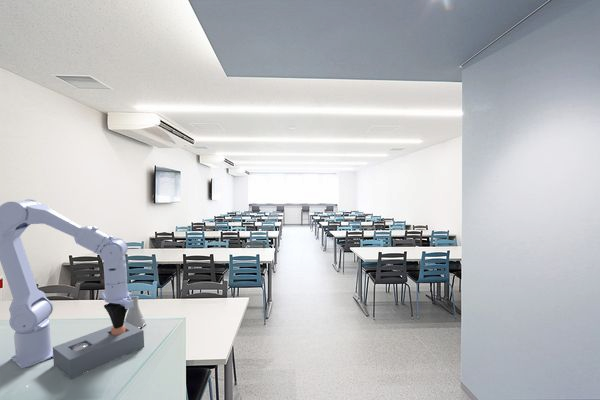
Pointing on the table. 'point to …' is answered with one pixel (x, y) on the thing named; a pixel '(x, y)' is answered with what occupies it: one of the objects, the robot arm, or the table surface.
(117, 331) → the terracotta plug
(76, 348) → the steel plug
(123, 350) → the plug panel
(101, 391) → the table surface
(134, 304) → the flask
